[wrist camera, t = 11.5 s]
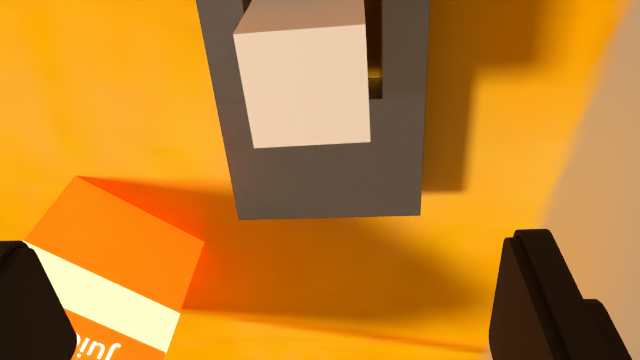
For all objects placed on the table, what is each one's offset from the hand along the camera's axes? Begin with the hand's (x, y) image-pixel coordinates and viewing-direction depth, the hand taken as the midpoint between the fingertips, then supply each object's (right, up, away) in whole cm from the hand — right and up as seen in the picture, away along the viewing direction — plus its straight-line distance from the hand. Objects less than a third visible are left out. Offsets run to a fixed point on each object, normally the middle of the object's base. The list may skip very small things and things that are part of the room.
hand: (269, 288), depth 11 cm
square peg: (+1, +10, +15) cm, 18 cm away
